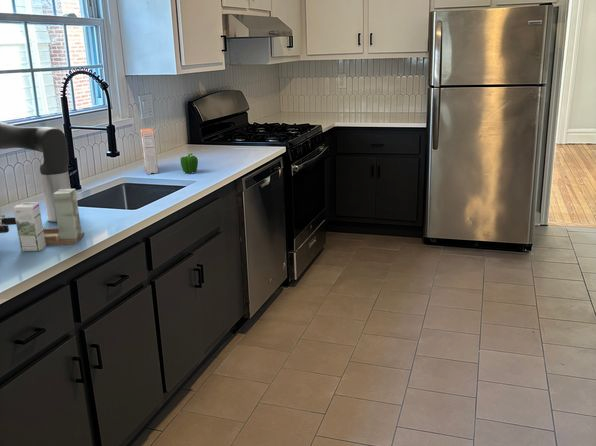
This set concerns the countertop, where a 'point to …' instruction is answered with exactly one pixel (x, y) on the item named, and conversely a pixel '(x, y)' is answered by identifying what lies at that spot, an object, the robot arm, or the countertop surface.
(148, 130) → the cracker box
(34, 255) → the countertop surface
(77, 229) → the wooden tray with block
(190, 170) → the bell pepper
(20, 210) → the syrup box
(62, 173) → the robot arm
